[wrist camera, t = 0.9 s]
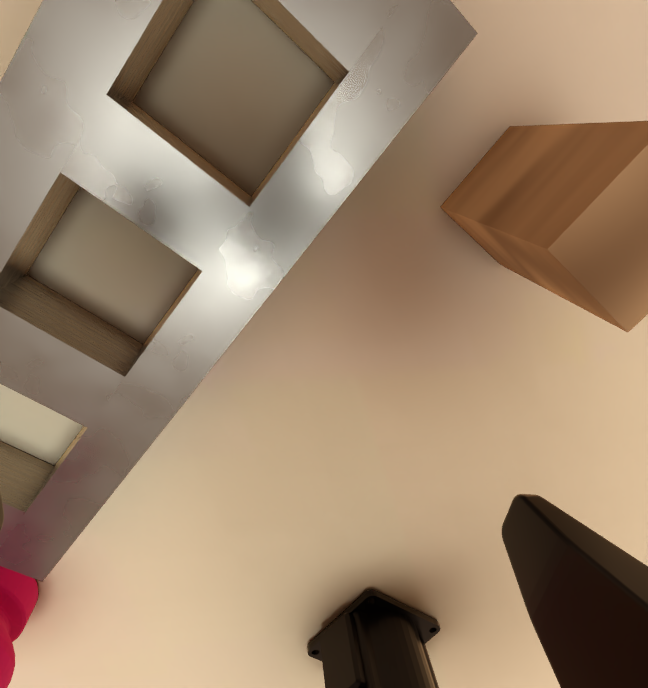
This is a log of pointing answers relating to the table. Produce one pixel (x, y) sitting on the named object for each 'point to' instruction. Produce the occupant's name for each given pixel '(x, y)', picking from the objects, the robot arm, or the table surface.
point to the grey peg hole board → (168, 221)
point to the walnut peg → (566, 212)
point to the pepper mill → (13, 616)
